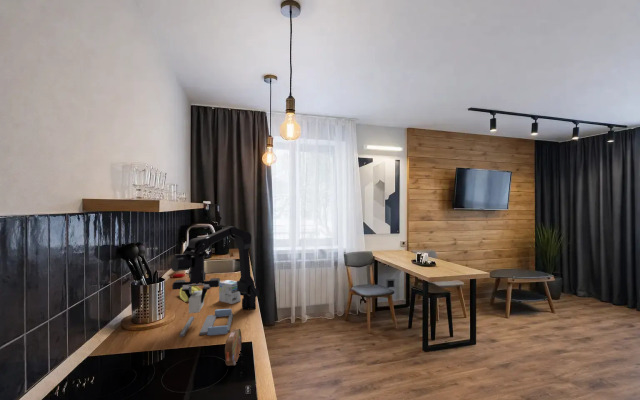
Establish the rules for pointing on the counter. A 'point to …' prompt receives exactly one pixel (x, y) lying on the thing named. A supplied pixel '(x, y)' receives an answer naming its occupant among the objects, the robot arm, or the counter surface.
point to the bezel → (219, 329)
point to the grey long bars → (206, 324)
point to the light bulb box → (229, 292)
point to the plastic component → (184, 296)
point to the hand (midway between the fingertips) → (196, 303)
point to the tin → (233, 347)
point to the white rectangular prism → (195, 302)
